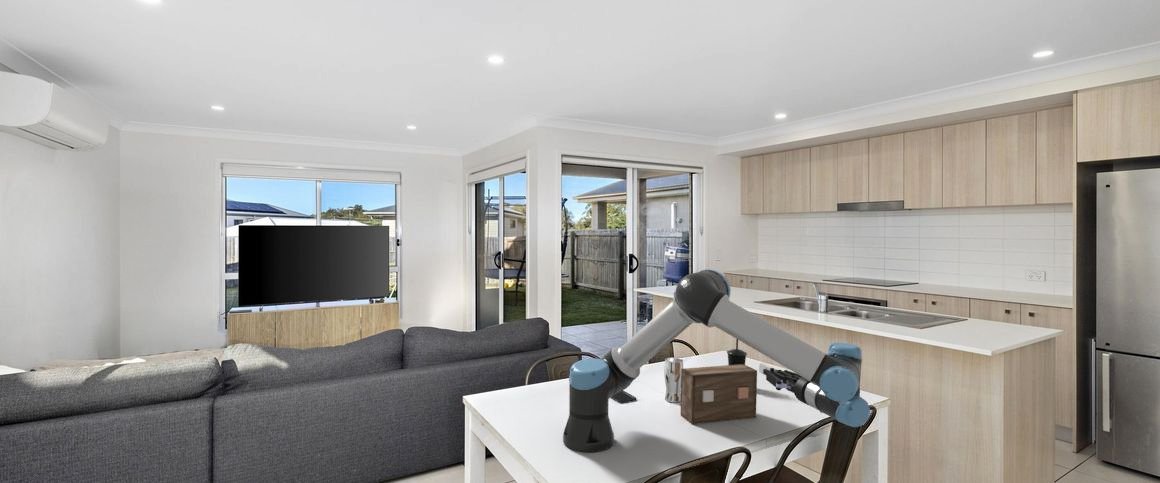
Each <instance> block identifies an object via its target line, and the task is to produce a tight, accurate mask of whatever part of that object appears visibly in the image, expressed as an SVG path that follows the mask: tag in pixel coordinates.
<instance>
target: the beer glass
mask: <svg viewBox="0 0 1160 483" xmlns="http://www.w3.org/2000/svg"><path fill="white" fill-rule="evenodd" d="M663 368H664V369H663V371H664V372H663V373H664V374H663V375H664V381H665V382H664V383H665V397H664V400H665V402H668V403H673V404H675V403H676V404H677V403H681V369H684V359H682V358H679V357H666V358H665V359H664V366H663Z"/></svg>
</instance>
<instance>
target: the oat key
mask: <svg viewBox="0 0 1160 483" xmlns="http://www.w3.org/2000/svg"><path fill="white" fill-rule="evenodd" d="M713 399H714V390H712V389H706V390H702V402H712V401H713Z"/></svg>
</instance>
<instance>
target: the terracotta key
mask: <svg viewBox="0 0 1160 483" xmlns="http://www.w3.org/2000/svg"><path fill="white" fill-rule="evenodd" d="M737 398H738V399H743V398H748V387H747V386H739V387H737Z"/></svg>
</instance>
